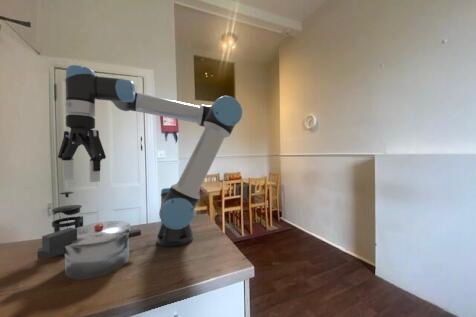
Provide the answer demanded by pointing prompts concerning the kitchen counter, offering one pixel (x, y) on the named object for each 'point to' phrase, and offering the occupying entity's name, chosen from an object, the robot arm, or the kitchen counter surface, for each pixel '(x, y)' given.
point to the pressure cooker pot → (93, 257)
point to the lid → (85, 235)
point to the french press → (68, 211)
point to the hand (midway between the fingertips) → (81, 180)
